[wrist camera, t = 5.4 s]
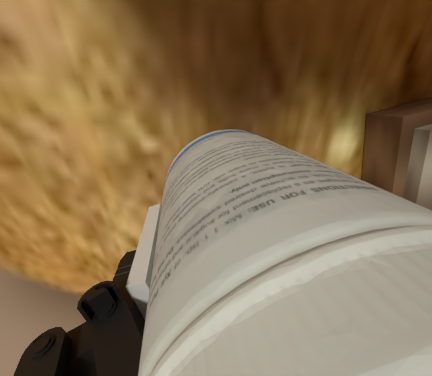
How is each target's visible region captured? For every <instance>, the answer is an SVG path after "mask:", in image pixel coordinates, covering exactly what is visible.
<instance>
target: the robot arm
mask: <svg viewBox="0 0 432 376" xmlns="http://www.w3.org/2000/svg"><path fill="white" fill-rule="evenodd" d="M429 210H430V209H429ZM160 214H161V204H158V205H154V206H150V207H149V209H148V213H147V216H146V220H145V223H144V226H143V230H142V233H141V236H140V240H139V243H138V247H137V250H134V251H131V252H127V253H126V254H125V255H124V257H123V258H122V259H121V260H120V263H119V265H118V269H117V271H116V273H115V276H114V279H113V281H104V282H101V283H99V284H96V285H94V286H93V287H92V288H90V289H89V290H88V291H87V292H86V293H85V294H84V295H83V296H82V297H81V299H80V300H79V302H78V307H77V309H78V310H79V311H80V313H81V314H82V316H83V317H84V318H85V320H86V322H85V323H83V324H82V325H80V326H78V327H76V328H74V329H72V330H71V331H69V332H67V333H66V332H65V331H64V330H63V329H62V327H55V328H52V329H49V330H47V331H46V332H44V333H42V334H41V335H40V336H38V337H37V338H36V339H35V340H34V341H33V342H32V343H31V344H30V345H29V346H28V347H27V349H26V350H25V351H24V353H23V355H22V357H21V359H20V361H19V364H18V366H17V368H16V371H15V373H14V376H138V372H139V364H140V357H141V349H142V341H143V334H144V326H145V319H146V311H147V304H148V297H149V290H150V283H151V276H152V269H153V262H154V255H155V249H156V242H157V235H158V228H159V221H160Z"/></svg>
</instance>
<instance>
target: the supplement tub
mask: <svg viewBox="0 0 432 376" xmlns="http://www.w3.org/2000/svg"><path fill="white" fill-rule="evenodd" d="M138 376H432V210H429V209H427V208H425V207H422V206H420V205H418V204H415V203H413V202H411V201H408V200H406V199H404V198H401V197H399V196H397V195H395V194H392V193H390V192H388V191H385V190H383V189H381V188H378V187H376V186H374V185H372V184H369V183H367V182H365V181H362V180H360V179H358V178H355V177H353V176H351V175H349V174H346V173H344V172H342V171H339V170H337V169H335V168H332V167H330V166H328V165H325V164H323V163H321V162H318V161H316V160H314V159H312V158H309V157H307V156H305V155H302V154H300V153H298V152H296V151H293V150H291V149H288V148H286V147H284V146H281V145H279V144H277V143H274V142H272V141H270V140H268V139H266V138H263V137H261V136H258V135H256V134H253V133H250V132H247V131H243V130H234V129H226V130H218V131H213V132H210V133H207V134H205V135H202V136H200V137H198V138H197V139H195V140H193V141H192V142H190V143H189V144H188V145H187V146H185V147H184V148H183V149H182V150H181V151H180V153H179V154H178V155H177V156H176V158H175V159H174V161H173V162H172V164H171V166H170V169H169V171H168V173H167V177H166V181H165V186H164V193H163V200H162V207H161V214H160V221H159V228H158V235H157V242H156V249H155V255H154V262H153V269H152V276H151V283H150V290H149V297H148V304H147V311H146V319H145V326H144V334H143V341H142V349H141V357H140V364H139V372H138Z"/></svg>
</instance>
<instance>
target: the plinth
mask: <svg viewBox="0 0 432 376" xmlns="http://www.w3.org/2000/svg"><path fill="white" fill-rule="evenodd" d="M361 180H362V181H365V182H367V183H369V184H372V185H374V186H376V187H378V188H381V189H383V190H385V191H388V192H390V193H392V194H395V195H397V196H399V197H401V198H404V199H406V200H408V201H411V202H413V203H415V204H418V205H420V206H422V207H425V208H427V209H430V210H432V98H428V99H424V100H420V101H416V102H412V103H408V104H404V105H400V106H396V107H393V108H389V109H385V110H381V111H377V112H373V113H369V114H366V125H365V139H364V152H363V165H362V178H361Z"/></svg>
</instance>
